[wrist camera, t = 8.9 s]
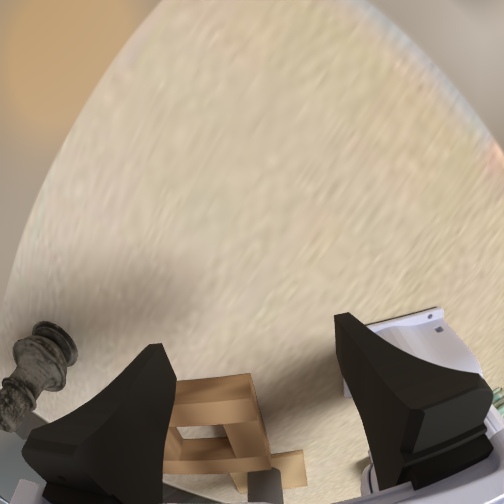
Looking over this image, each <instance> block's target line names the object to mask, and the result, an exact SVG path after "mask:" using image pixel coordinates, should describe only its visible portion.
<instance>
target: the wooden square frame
mask: <svg viewBox="0 0 504 504" xmlns="http://www.w3.org/2000/svg"><path fill="white" fill-rule="evenodd" d="M218 424H223V427H224V429H225V431H226V434H227V436H228V437H224V438H208V439H184V440H183V438H182V437H181V435H180V433H179V431H178V430H177V428H176V427H184V426H204V425H218ZM270 469H272V467H271V453H270V445H269V442H268V438H267V435H266V431H265V427H264V423H263V420H262V416H261V412H260V408H259V405H258V401H257V397H256V393H255V389H254V386H253V382H252V378H251V374H250V373H249V374H242V375H234V376H226V377H217V378H207V379H197V380H185V381H176V394H175V401H174V406H173V410H172V414H171V419H170V423H169V427H168V432H167V436H166V441H165V448H164V460H163V474H222V473H239V472H251V471H261V470H270Z"/></svg>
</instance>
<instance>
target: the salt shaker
mask: <svg viewBox="0 0 504 504" xmlns="http://www.w3.org/2000/svg"><path fill="white" fill-rule="evenodd" d="M13 356H14V360H15V362H16V364H17V367H16V369H15V371H14V372H13V373H12V374H11V376H10V377H9V378H4V379H3V381H2V386H3V388H2V390H1V391H0V429H1V430H4V431H7V432H15V431H16V430H17V429H18V428H19V426H20V424H21V423H22V421H23V419H24V418H25V416H26V414H27V413H28V411H33V410H35V409H36V405H37V404H36V400H37V398H38V397H39V395H40V393H41V392H42V391H43V390H46V391H51V392H57V391H60V390H62V389H63V388H64V386H65V384H66V374H67V367H70V366H72V365H74V363H75V362H76V361H77V357H78V354H77V348H76V346H75V344H74V342H73V340H72V338H71V337H70V336H69V335H68V334H67V333H66V332H65V331H64V330H63V329H62V328H60V327H59V326H57V325H56V324H53V323H50V322H44V321H43V322H39V323H38V324H36V325H35V326H34V328H33V332H32V336H30V337H27V338H25V339H22V340H18V341H17V342H16V343H15V344H14V347H13Z"/></svg>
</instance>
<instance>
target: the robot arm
mask: <svg viewBox="0 0 504 504" xmlns="http://www.w3.org/2000/svg"><path fill="white" fill-rule="evenodd" d="M443 314H444V310H443V309H442V308H441V307H437V308H434V309H430V310H426V311H423V312H419V313H415V314H412V315H408V316H404V317H400V318H396V319H392V320H388V321H384V322H380V323H376V324H372V325H367V326H365V325H364V324H363V323H361V322H360V321H359V320H358V319H357V318H355V317H354V316H353V315H352V314H350V313H349V312H347V313H343V314H338V315H334V322H335V338H336V354H337V358H338V361H339V365H340V368H341V372H342V375H343V394H344V397H345V398H351V397H352V398H353V400H354V402H355V405H356V407H357V409H358V412H359V414H360V417H361V420H362V422H363V426H364V429H365V433H366V436H367V440H368V444H369V448H370V450H369V451H368V454H369V457H370V460H371V464H370V465H368V466H367V467H366V468H365V469H364V471H363V473H362V477H361V495H362V496H361V497H357V498H353V499H349V500H345V501H341V502H336V503H332V504H504V419H503V417H502V416H501V415H500V413H499V412H498V411H497V409H496V408H495V407H494V405H493V404H492V401H493V398H494V395H493V391H492V390H491V388H490V387H489V386H488V384H487V383H486V381H485V380H484V379H483V374H482V370H481V367H480V364H479V362H478V360H477V358H476V356H475V355H474V354H473V352H472V351H471V350H470V349H469V347H468V346H467V345H466V344H465V343H464V342H463V340H462V339H461V338H460V337H459V336H458V335H457V333H456V332H455V331H454V330H453V329H452V328H451V327H450V326H449V324H448V323H447V322H446V321H445V320H444V319H443ZM428 315H430V316H429V317H428ZM176 381H177V378H176V375H175V373H174V371H173V369H172V366H171V364H170V362H169V359H168V357H167V354H166V352H165V350H164V347H163V345H162V343H158V344H149V345H148V346H147V347H146V348H145V349H144V350H143V351H142V352H141V353H140V354H139V355H138V356H137V357H136V358H135V359H134V360H133V361H132V362H131V363H130V364H129V365H128V366H127V367H126V368H125V369H124V371H123V372H122V373H121V374H120V375H118V376H117V377H116V378H115V379H114V380H113V381H112V382H111V383H110V384H109V385H108V386H107V387H106V388H105V389H103V390H102V391H101V392H100V393H99V394H97V395H96V396H95V397H93V398H92V399H91V400H90V401H88V402H87V403H85V404H84V405H82V406H81V407H79V408H77V409H76V410H74V411H73V412H71V413H69V414H67V415H66V416H64V417H62V418H60V419H58V420H56V421H54V422H51V423H49V424H46V425H44V426H41V427H39V428H36V429H33V430H32V431H31V433H30V435H29V437H28V439H27V441H26V443H25V445H24V447H23V449H22V451H21V452H22V456H23V457H24V459H25V461H26V462H27V463H28V464H29V465H30V466H31V467H32V468H33V469H34V470H35V471H36V472H37V473H38V474H39V475H40V476H41V477H42V478H43V479H44V480H45V481H46V482H47V484H46V486H45V488H44V487H43V486H41V485H39V484H37V483H33V482H30V481H27V480H24V479H20V481H19V483H18V485H17V487H16V490H15V492H14V495H13V497H12V499H11V501H10V504H163V498H162V479H163V460H164V448H165V441H166V436H167V432H168V427H169V423H170V419H171V414H172V410H173V406H174V401H175V394H176ZM169 504H175V503H169ZM227 504H271V503H266V502H245V503H227Z"/></svg>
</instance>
